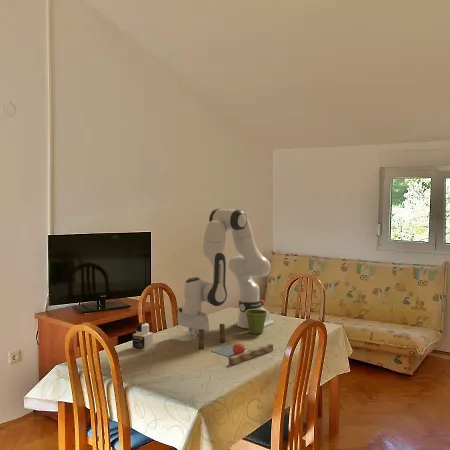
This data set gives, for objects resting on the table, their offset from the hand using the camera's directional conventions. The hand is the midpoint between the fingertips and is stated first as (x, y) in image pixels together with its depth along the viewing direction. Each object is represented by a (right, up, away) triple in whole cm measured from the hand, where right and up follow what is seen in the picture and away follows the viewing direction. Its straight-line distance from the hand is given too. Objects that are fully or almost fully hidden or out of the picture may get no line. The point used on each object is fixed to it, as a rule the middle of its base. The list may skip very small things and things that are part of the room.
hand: (193, 336), depth 254 cm
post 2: (+15, -2, -3) cm, 15 cm away
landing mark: (+20, -3, -18) cm, 27 cm away
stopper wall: (+28, -3, -27) cm, 39 cm away
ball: (+22, 0, -24) cm, 33 cm away
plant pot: (+33, -1, +14) cm, 36 cm away
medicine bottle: (-24, -3, -12) cm, 27 cm away
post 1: (+5, -3, -14) cm, 15 cm away
